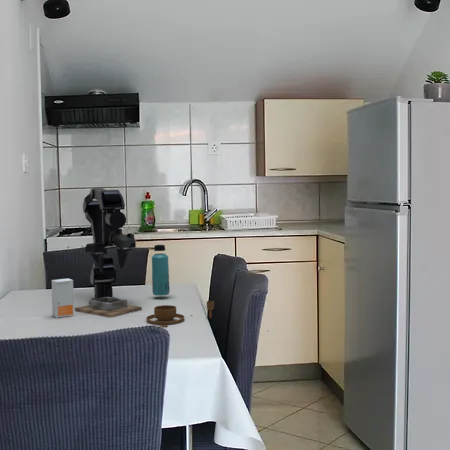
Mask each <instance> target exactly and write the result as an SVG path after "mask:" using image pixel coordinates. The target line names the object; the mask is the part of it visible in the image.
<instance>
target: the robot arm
mask: <svg viewBox="0 0 450 450" xmlns="http://www.w3.org/2000/svg"><path fill="white" fill-rule="evenodd" d="M125 206H126V204H125V200H124V197H123V195H122V193H121V192H120V190H119V189H105V188H103V187H99V188H98V187H95V188H90V191H89V193H88V194H87V195H86V196H85V197H84V198H83V203H82V213H84V216H85V219H86V220H87V222H89V224H90V226H91V235H92V241H93V242H91V243H86V245H85V246H84V251H85V253H88V255H90V256H91V258H92V259H93V261H94V263H93V265H92V268H91V272H90V275H89V276H90V277H89V280H90V281H89V282H90V284H91V285H93V286H94V287H93V288H94V290H93V291H94V297H91V300H94V299H98V298H103V297H113V298H116V297H115V296H113V294H114V293H113V284H115V283H117V275H118V270H117V268H116V266H115V264H114V258H113V257H110V256H109V255H108V249H110V250H111V249H116V253H117V259H118V266H119V269H124V266H125V263H126V259H127V257H128V254H129V253H130V252H131V251H133V250H134V249H136V248H137V245H136V244H137V243H136V241H135V234H134V233H132V232H130V233H128V232H127V234H124V233H123V229H122V228H124V226H126V223H127V217H126V215H125V213H123V212H122V211H123V210H125V208H126V207H125ZM121 210H122V211H121Z"/></svg>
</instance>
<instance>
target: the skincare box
mask: <svg viewBox="0 0 450 450" xmlns="http://www.w3.org/2000/svg"><path fill="white" fill-rule="evenodd" d="M74 302H75V301H74V280H73V279H71V278H59V279H51V304H52V305H51V306H52V307H51V308H52V309H51V310H52V316H53V317H55V318H57V319H58V318H65V317H74V316H75V313H74V312H75V307H74V305H75V304H74Z"/></svg>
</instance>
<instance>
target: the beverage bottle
mask: <svg viewBox="0 0 450 450" xmlns="http://www.w3.org/2000/svg"><path fill="white" fill-rule="evenodd" d="M164 251H166V245H165V244H155V245H154V248H153V252H162V253H154V254H153V255H151V275H152V276H151V279H152V280H151V283H152V284H151V285H152V286H151V290H152V294H153V295H154V296H167V295H170V292H171V289H170V275H169V274H170V273H169V271H170V266H169V256H168V255H167V254H166V253H163V252H164Z"/></svg>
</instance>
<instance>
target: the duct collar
mask: <svg viewBox="0 0 450 450" xmlns="http://www.w3.org/2000/svg"><path fill="white" fill-rule="evenodd" d="M113 297H114V296H113ZM113 297H103V298H98V299H94V300H92V299H91V300H88V304H86V305H81V306H77V307H74V312H78V313H79V312H80V313H84V314H91V315H96V316H101V317H105V316H106V318H110V317H111V318H115V317H119V316H123V315H127V314H130V312H131V313H134V312H133V311H135V312H139V311H142V310H143V307H142V306H137V305H132V304H128V299H126V298H125V299H124V298H118V297H115V298H113ZM141 309H142V310H141ZM138 310H139V311H138Z"/></svg>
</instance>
